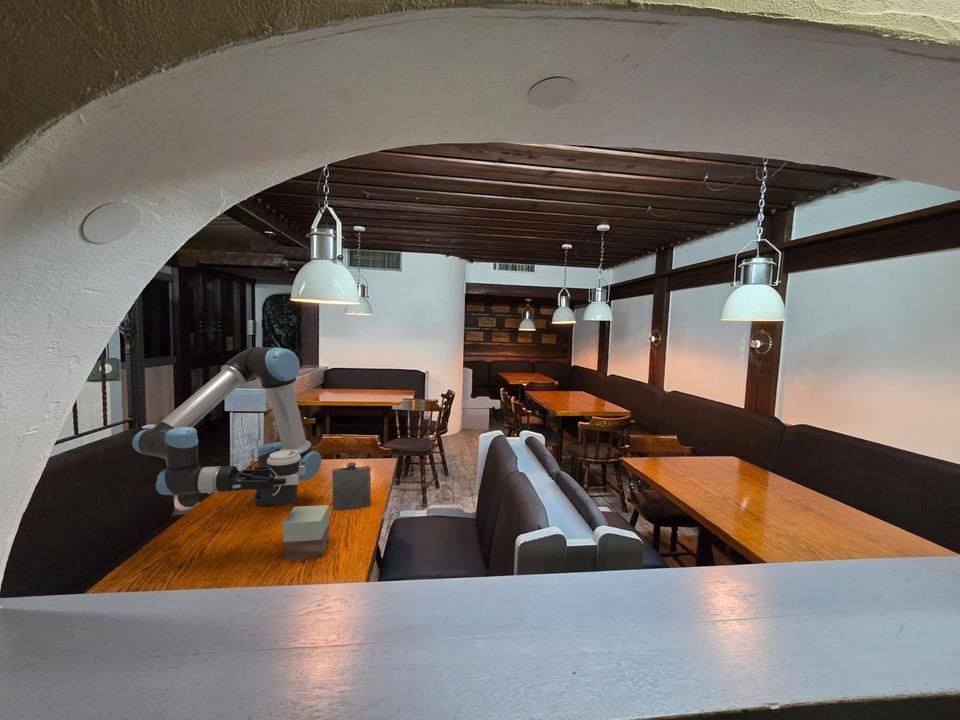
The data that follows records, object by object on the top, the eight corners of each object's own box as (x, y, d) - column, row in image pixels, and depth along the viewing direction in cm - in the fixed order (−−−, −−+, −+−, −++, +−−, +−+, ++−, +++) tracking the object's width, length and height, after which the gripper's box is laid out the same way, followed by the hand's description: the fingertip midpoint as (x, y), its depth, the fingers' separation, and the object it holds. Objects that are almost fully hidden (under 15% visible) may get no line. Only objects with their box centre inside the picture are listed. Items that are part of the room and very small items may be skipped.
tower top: (294, 524, 129) (294, 506, 129) (329, 522, 131) (328, 505, 130) (283, 542, 118) (282, 523, 118) (321, 539, 120) (320, 520, 119)
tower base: (293, 542, 129) (293, 524, 129) (328, 538, 132) (328, 521, 131) (284, 561, 118) (284, 542, 118) (323, 557, 121) (322, 538, 120)
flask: (370, 507, 155) (370, 463, 154) (332, 511, 151) (331, 466, 150) (370, 503, 158) (370, 460, 157) (333, 507, 154) (332, 463, 153)
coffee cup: (287, 509, 116) (286, 459, 115) (260, 505, 118) (259, 457, 117) (308, 495, 125) (307, 450, 124) (282, 492, 127) (281, 447, 126)
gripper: (234, 478, 127) (309, 474, 132) (203, 506, 108) (292, 500, 112) (233, 456, 127) (308, 453, 131) (202, 479, 107) (292, 474, 112)
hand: (301, 474), depth 122 cm, fingers closed on coffee cup, 7 cm apart
